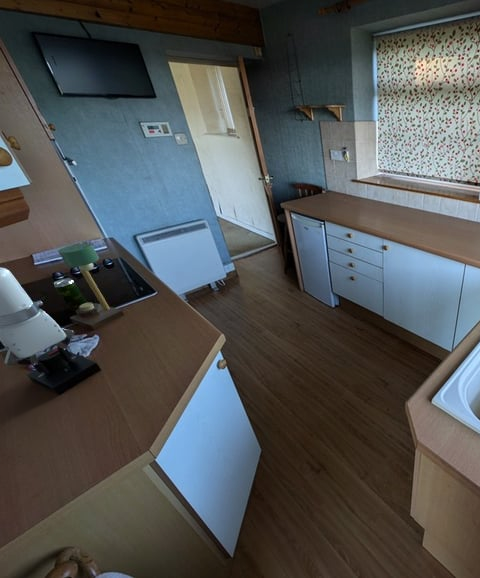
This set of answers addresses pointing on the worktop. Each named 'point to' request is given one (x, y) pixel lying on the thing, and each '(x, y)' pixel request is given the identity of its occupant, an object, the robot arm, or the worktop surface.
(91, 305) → the lamp switch
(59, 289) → the beer can
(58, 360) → the dimmer knob
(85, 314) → the lamp base
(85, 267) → the lamp
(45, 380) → the dimmer
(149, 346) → the worktop surface
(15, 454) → the worktop surface
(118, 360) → the worktop surface
